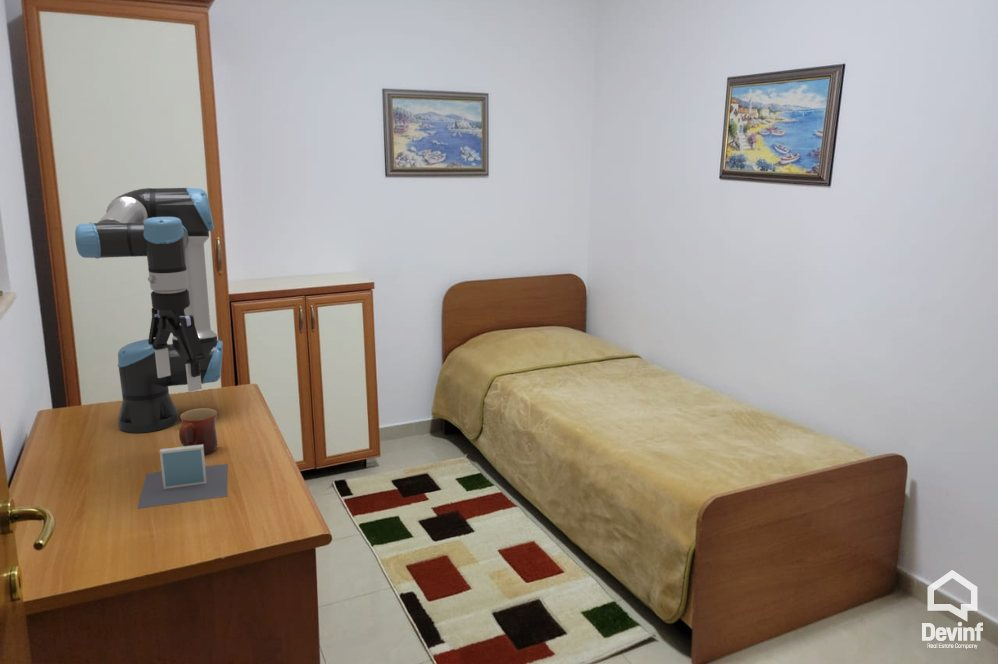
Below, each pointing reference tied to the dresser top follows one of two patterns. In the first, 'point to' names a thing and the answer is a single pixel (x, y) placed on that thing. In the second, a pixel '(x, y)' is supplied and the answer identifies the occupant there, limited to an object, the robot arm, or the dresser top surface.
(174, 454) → the tile
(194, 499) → the mat
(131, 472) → the dresser top surface
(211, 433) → the mug
